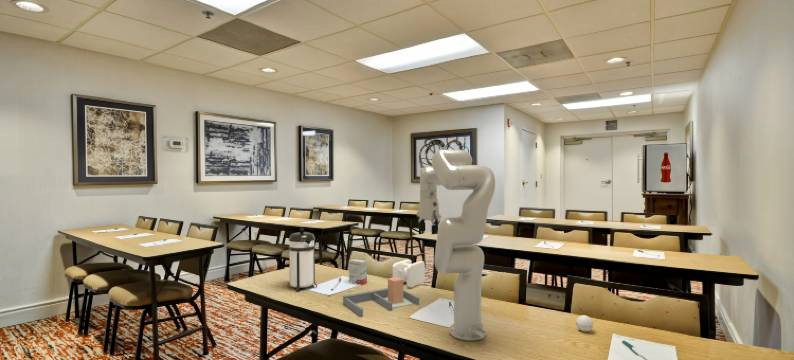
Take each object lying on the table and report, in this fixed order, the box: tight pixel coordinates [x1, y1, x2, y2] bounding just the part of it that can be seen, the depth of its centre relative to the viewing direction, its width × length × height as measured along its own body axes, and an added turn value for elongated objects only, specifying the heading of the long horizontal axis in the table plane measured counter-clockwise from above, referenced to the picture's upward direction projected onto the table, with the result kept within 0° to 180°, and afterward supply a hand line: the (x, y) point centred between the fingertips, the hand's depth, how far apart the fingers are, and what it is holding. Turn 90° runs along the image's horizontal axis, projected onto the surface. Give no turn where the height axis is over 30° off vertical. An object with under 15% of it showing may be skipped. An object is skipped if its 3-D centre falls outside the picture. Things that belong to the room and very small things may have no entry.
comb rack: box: [342, 287, 420, 318], centre depth 169 cm, size 18×28×4 cm, turn 120°
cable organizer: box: [391, 259, 426, 289], centre depth 198 cm, size 15×11×12 cm
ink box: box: [348, 258, 368, 286], centre depth 202 cm, size 9×5×12 cm, turn 58°
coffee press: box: [287, 227, 318, 293], centre depth 194 cm, size 17×16×30 cm
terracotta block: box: [387, 277, 404, 304], centre depth 171 cm, size 5×5×10 cm
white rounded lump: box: [575, 314, 594, 332], centre depth 139 cm, size 8×6×6 cm
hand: (428, 232), depth 175 cm, fingers open, 9 cm apart
